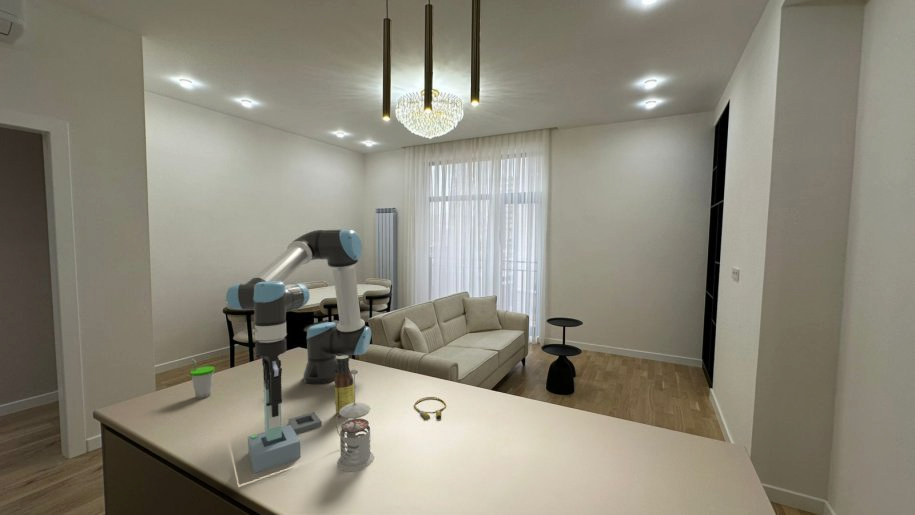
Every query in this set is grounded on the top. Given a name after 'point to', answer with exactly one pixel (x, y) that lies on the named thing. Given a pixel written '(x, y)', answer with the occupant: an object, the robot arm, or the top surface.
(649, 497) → the top surface
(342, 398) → the sauce bottle
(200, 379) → the cup
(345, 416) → the french press
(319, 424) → the holster
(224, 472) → the top surface
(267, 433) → the plug
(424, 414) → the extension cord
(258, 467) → the port
